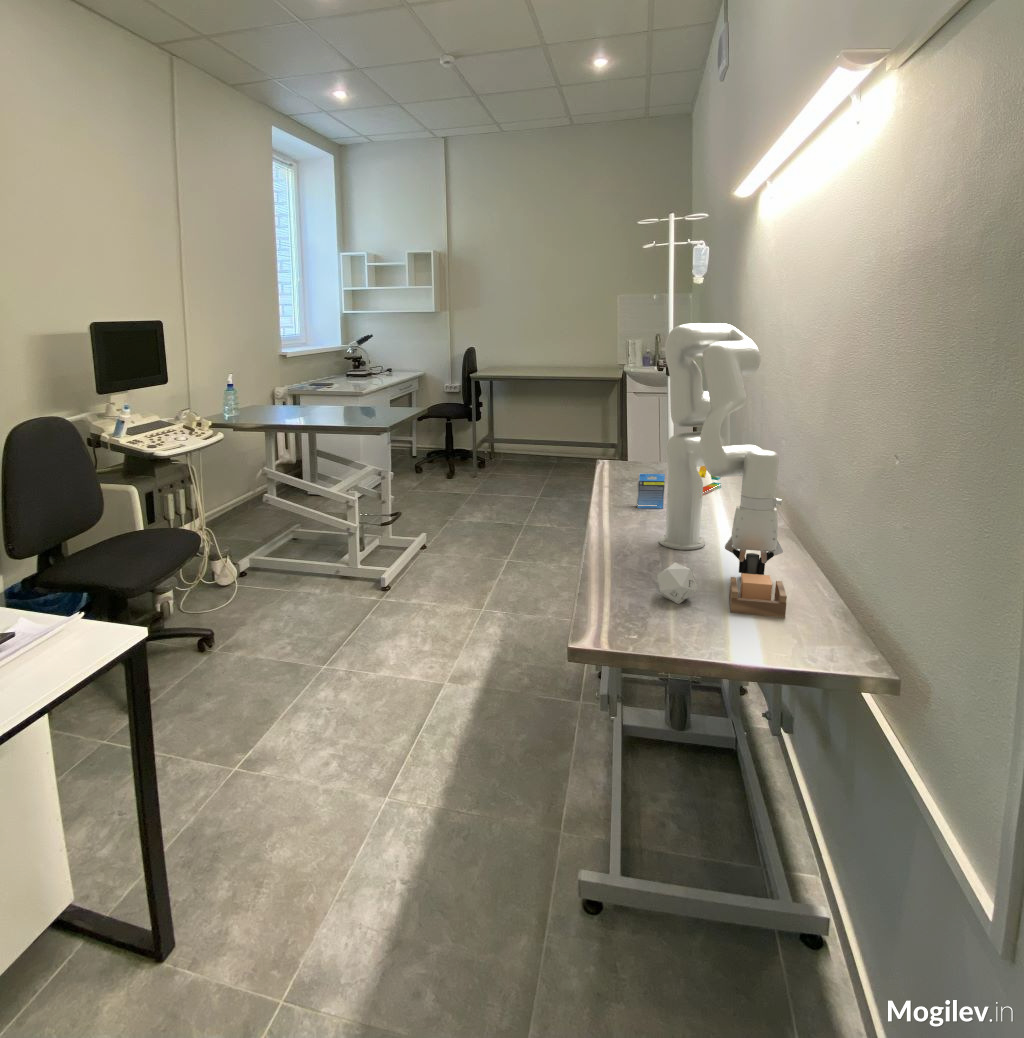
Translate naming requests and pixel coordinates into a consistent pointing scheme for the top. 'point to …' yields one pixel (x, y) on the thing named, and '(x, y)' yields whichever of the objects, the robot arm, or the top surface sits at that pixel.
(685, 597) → the die
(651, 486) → the label tape box
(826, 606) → the top surface
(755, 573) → the block
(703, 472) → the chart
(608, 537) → the top surface
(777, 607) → the shelf lane
